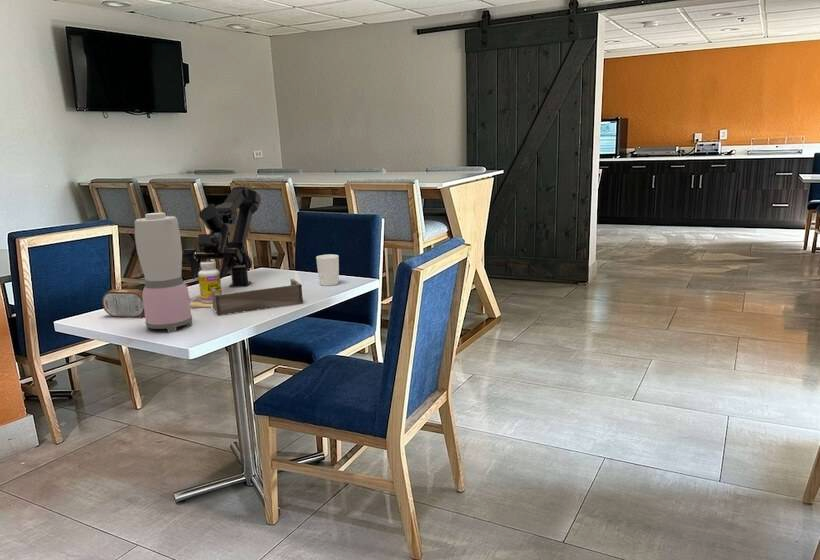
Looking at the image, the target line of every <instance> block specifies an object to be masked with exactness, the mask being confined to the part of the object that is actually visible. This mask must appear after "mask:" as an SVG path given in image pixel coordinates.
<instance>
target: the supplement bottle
mask: <svg viewBox="0 0 820 560" xmlns="http://www.w3.org/2000/svg"><path fill="white" fill-rule="evenodd" d="M199 265H200V268H201V270H198V273H197V276H198V284H199V286H198V287H199V292H200V294H199V295H200V297H201V301H202V302H203V303H213V301H212V292H211V289H215V290H216V292H217V293H218V295H222V294H223V292H222V291H223V290H222V283H221V279H220V272H221V271H220V270H219V269H218V268H216V267H217V263H216V261H214V260H207V261H201V262H200V263H199Z"/></svg>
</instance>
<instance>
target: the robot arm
mask: <svg viewBox="0 0 820 560" xmlns="http://www.w3.org/2000/svg"><path fill="white" fill-rule="evenodd" d="M226 197H227V198H226V199H225V200H224V202H223V203H220V204H218V205H215V204H213V203H211V204H209V203H208V204H207V206H205V207H204V208H203V209H201V210H200V212H198V213H199V214H198V215H199V218H200V219H201V221H202V223H203V224H204V226H205V227H206V229H207V230H209V233H206V234H203V233H201V234H198V237H197V245H198V246H200V247H201V251H204V252H198V251H197V249H196V248H184V249H182V259H183V260H184V261H185V262H186V264H187V265H189V266H190V272H191V273H190V274H191V278H192V279H193V280H195V279H196V277H197V276H198V273H199V271H200V268H201V266H200V263H201V262H202V260H222V266H221V268H220V271H219V272H220V280H221V279H223V278H224V277H225V276H226V275H227V274H228V273H229V272H230V278H231V283H230V284H229V285H228V286H229V287H230V288H232V287H234V288H235V287H239V288H240V287H248V286H250V284H251V283H252V281H251V280H249V276H248V275H249V274H248V270H249V269H252V268H253V260H252V258H251V257H250V254H249V252H248V250H247V247H246V245H247V238H248V236H249V231H250V230H249V229H250V225H251V222H252V217H253V215H254V214H255V213H256V212H257V211H258V210H259V207H260V204H261V201H262V199H261V195H260V194H259V193H258V192H257V191H256V190H252V189H250V188H248V187H247V186H243V185H242V186H234V187H232V188H231V192H230V193H229V194H228V195H227V196H226ZM237 210H238V214H237V213H236V212H237ZM235 221H236V223H235ZM234 223H235V227H234V232H233V236H232V240H231V241H229V242H227V239H228V236H231V231H230V228H229V226H228V225H233V224H234Z"/></svg>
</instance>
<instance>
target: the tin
mask: <svg viewBox="0 0 820 560" xmlns="http://www.w3.org/2000/svg"><path fill="white" fill-rule="evenodd" d="M142 294H143V290H140V289H136V288H135V289H133V288H132V289H131V288H128V289H127V288H112V289H111V290H109V291H107V292H106V293H105V294H104V295H103V296H102V298H101V302H102V307H103V310H104V312H106V314H108V315H109V316H110V317H114V318H140V317H142V316H145V312H144V305H143V297H142Z"/></svg>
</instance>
